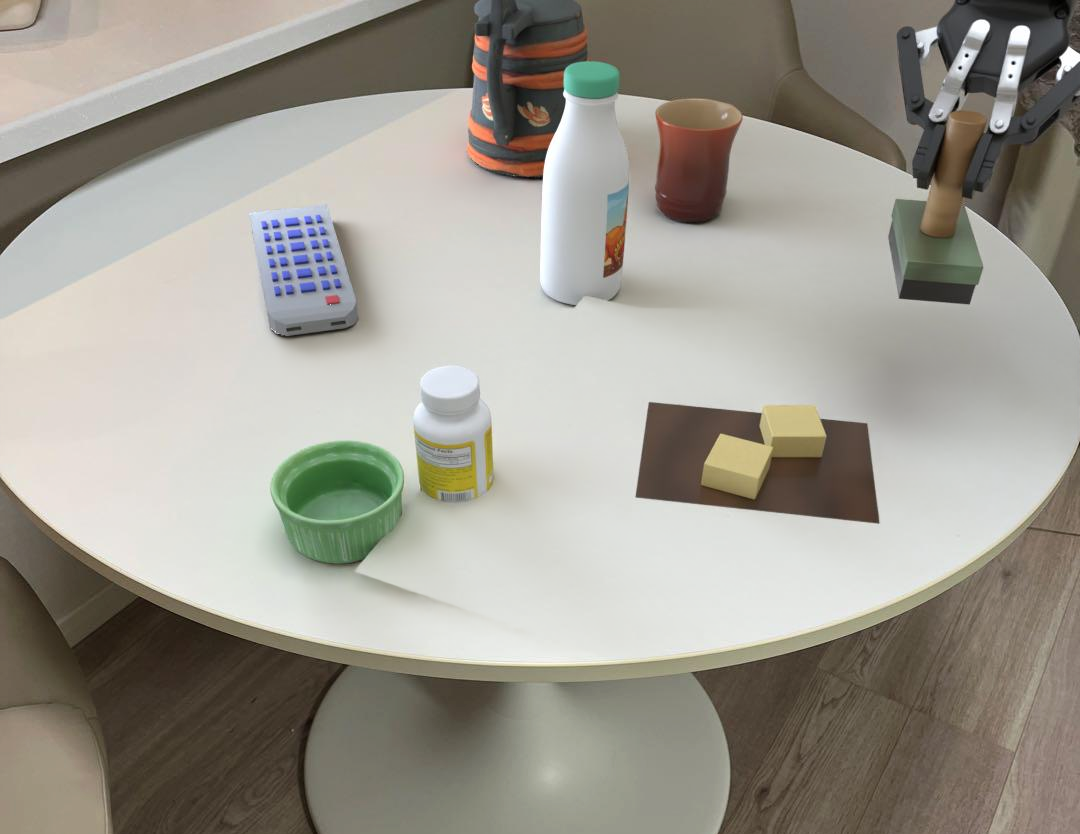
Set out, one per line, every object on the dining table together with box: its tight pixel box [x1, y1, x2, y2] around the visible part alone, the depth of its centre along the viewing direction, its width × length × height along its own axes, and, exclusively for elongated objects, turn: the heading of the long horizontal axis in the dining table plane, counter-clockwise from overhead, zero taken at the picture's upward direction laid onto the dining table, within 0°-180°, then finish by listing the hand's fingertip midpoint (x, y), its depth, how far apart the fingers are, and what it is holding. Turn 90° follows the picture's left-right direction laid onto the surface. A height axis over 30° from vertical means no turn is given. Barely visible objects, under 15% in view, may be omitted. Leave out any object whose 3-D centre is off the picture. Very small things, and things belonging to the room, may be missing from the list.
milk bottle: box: [539, 60, 630, 306], centre depth 93 cm, size 8×8×20 cm
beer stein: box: [466, 0, 590, 178], centre depth 115 cm, size 19×15×20 cm
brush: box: [887, 110, 988, 306], centre depth 73 cm, size 5×10×11 cm, turn 171°
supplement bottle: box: [412, 365, 495, 503], centre depth 74 cm, size 5×5×10 cm
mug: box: [654, 97, 744, 223], centre depth 110 cm, size 12×9×10 cm
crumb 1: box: [701, 434, 773, 500], centre depth 76 cm, size 4×4×2 cm
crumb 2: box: [760, 404, 826, 458], centre depth 79 cm, size 4×4×2 cm
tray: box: [634, 401, 880, 525], centre depth 79 cm, size 17×12×2 cm
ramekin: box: [269, 439, 405, 564], centre depth 73 cm, size 9×9×4 cm
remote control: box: [249, 204, 359, 337], centre depth 101 cm, size 8×23×2 cm, turn 16°
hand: (945, 187), depth 71 cm, fingers closed on brush, 2 cm apart
